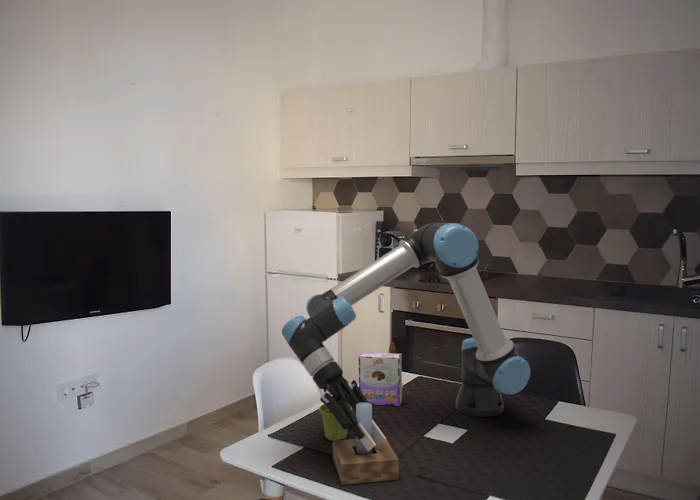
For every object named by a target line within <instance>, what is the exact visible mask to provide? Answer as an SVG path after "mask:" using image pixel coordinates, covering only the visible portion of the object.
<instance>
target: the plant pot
mask: <svg viewBox="0 0 700 500" xmlns="http://www.w3.org/2000/svg"><path fill="white" fill-rule="evenodd" d="M348 405H349V404H348ZM349 407H350V409H351V411H352V410H353V408H352V407H351V406H350V405H349ZM318 408H319V409H318V410H319V412H320V416H321V418H322V422H323V423H322V424H323V429H324V435H325V436H324V437H325V438H327V440H329V441H332V442H333V441H336V440H346V438H347V436H348V430H347V429H346V430H344V429H343V428H342V426H341V425H340V424H339V422H338V421H337V420H336V418H335V417H334V415H333V414H332V413H331V411H330V410H329V409H328V407H327V406H326V405H325V404H324V403H322V404H321V405H320V406H319V407H318ZM345 423H346V422H345Z"/></svg>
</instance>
